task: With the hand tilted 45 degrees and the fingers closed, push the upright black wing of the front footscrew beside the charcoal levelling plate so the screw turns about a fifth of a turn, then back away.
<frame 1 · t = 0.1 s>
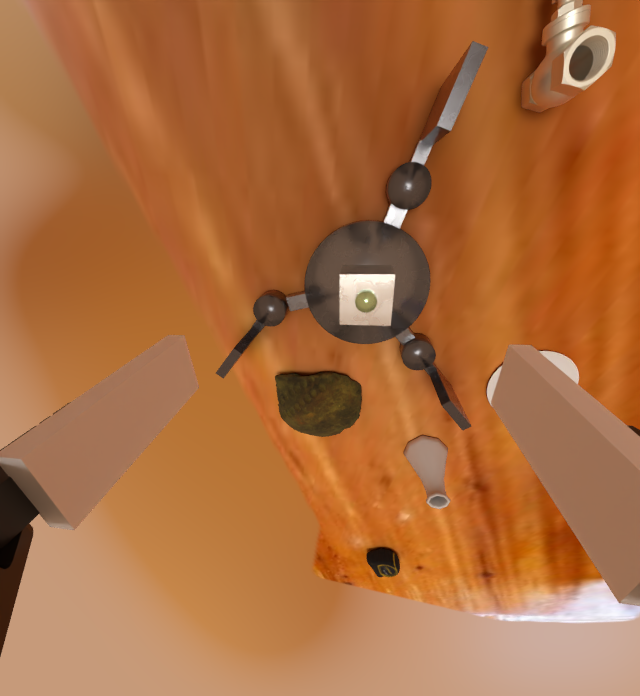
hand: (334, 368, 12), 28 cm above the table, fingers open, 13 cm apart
pottery fragment: (313, 397, 49), on the table
flask: (424, 448, 50), on the table
front footscrew: (252, 333, 38), point 4 cm above the table, hinge at 0.0°
valve: (541, 36, 26), on the table
pudding: (527, 382, 42), on the table
tribrach: (365, 284, 38), on the table
tape measure: (381, 553, 68), on the table
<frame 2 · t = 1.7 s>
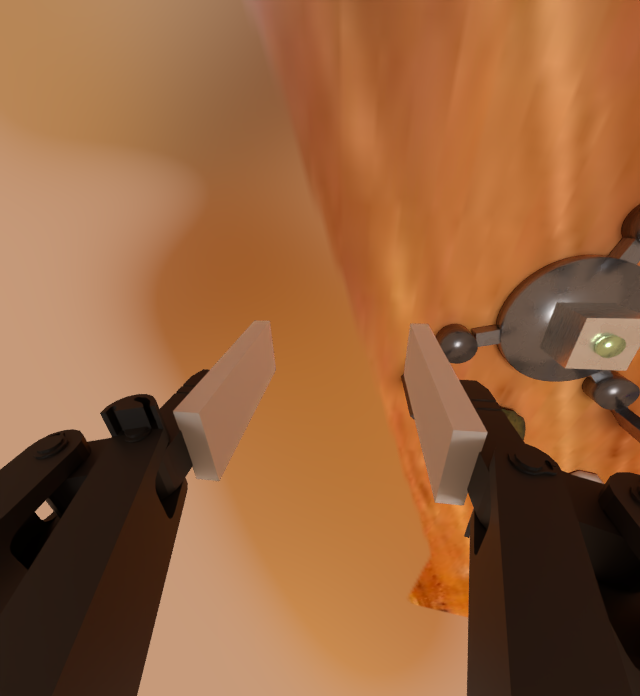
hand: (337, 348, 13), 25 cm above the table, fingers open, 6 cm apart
pottery fragment: (463, 430, 46), on the table
front footscrew: (440, 371, 36), point 5 cm above the table, hinge at 0.0°
tribrach: (564, 320, 35), on the table
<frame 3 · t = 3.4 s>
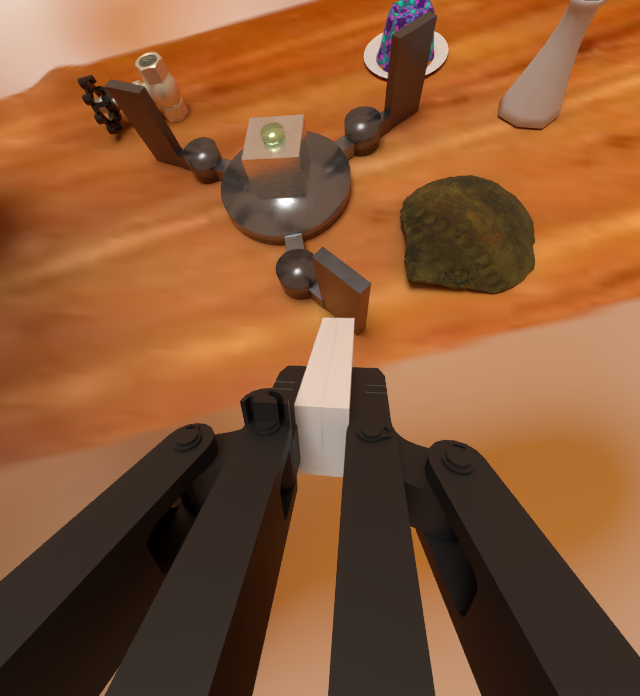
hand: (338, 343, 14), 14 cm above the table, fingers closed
pottery fragment: (454, 246, 31), on the table
flask: (526, 112, 36), on the table
front footscrew: (318, 277, 26), point 4 cm above the table, hinge at 0.0°
valve: (154, 122, 43), on the table
pudding: (404, 60, 41), on the table
tribrach: (287, 192, 36), on the table
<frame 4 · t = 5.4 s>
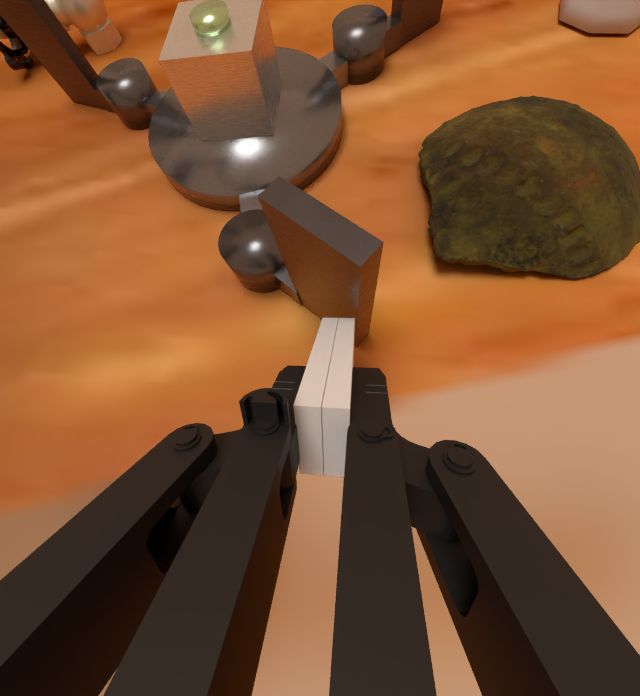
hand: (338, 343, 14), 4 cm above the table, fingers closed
pottery fragment: (503, 208, 20), on the table
flask: (599, 15, 24), on the table
front footscrew: (284, 251, 15), point 4 cm above the table, hinge at 1.7°, touching gripper
valve: (77, 56, 32), on the table
tribrach: (250, 136, 24), on the table
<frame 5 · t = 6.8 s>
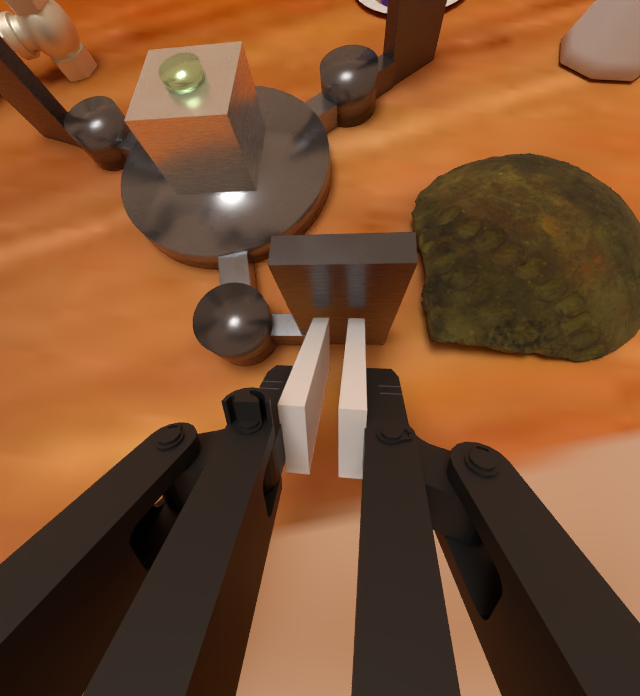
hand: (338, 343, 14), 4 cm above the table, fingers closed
pottery fragment: (501, 273, 19), on the table
flask: (601, 58, 23), on the table
front footscrew: (281, 305, 14), point 4 cm above the table, hinge at 40.8°, touching gripper
valve: (48, 82, 30), on the table
tribrach: (232, 183, 23), on the table
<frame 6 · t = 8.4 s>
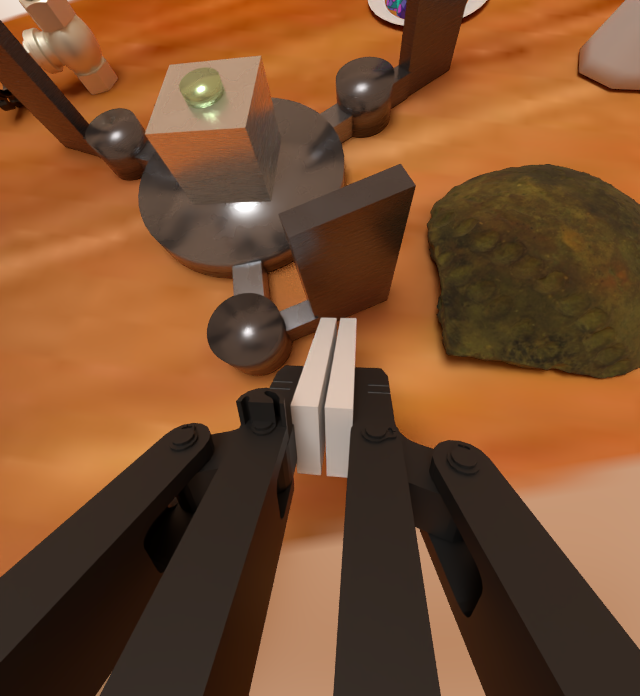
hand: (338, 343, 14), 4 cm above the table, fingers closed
pottery fragment: (519, 285, 19), on the table
flask: (622, 67, 23), on the table
front footscrew: (293, 291, 15), point 4 cm above the table, hinge at 66.2°
valve: (71, 95, 31), on the table
pudding: (426, 3, 29), on the table
tribrach: (247, 192, 23), on the table
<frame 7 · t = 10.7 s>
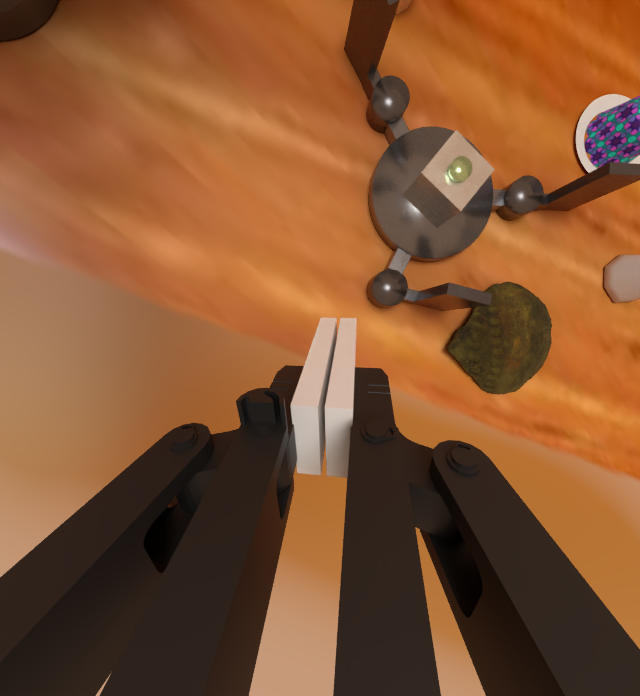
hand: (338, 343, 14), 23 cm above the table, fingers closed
pottery fragment: (490, 341, 40), on the table
flask: (621, 279, 41), on the table
front footscrew: (421, 292, 33), point 5 cm above the table, hinge at 66.2°
pudding: (606, 144, 40), on the table
tribrach: (426, 200, 37), on the table
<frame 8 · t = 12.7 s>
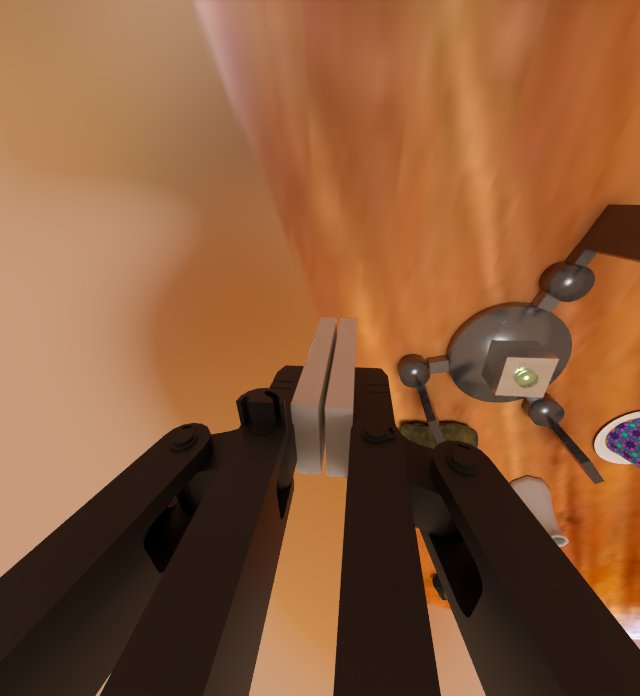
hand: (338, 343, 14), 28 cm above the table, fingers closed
pottery fragment: (427, 440, 53), on the table
flask: (525, 486, 55), on the table
front footscrew: (424, 398, 43), point 4 cm above the table, hinge at 66.2°
pudding: (632, 434, 47), on the table
tribrach: (501, 352, 43), on the table
tape measure: (444, 577, 74), on the table
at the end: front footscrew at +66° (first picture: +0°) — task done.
